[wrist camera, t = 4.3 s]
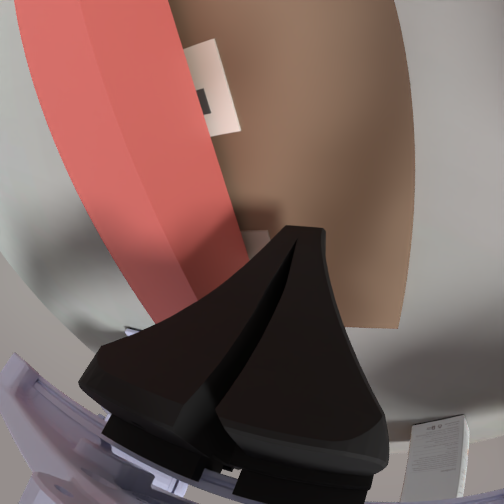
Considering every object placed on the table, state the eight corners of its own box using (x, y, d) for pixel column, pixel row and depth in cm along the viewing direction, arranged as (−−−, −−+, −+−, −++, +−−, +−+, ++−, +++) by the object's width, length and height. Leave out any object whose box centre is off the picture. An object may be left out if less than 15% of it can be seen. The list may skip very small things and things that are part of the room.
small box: (410, 424, 24) (389, 533, 15) (465, 413, 20) (450, 530, 11) (425, 439, 26) (408, 529, 17) (470, 430, 23) (458, 525, 13)
